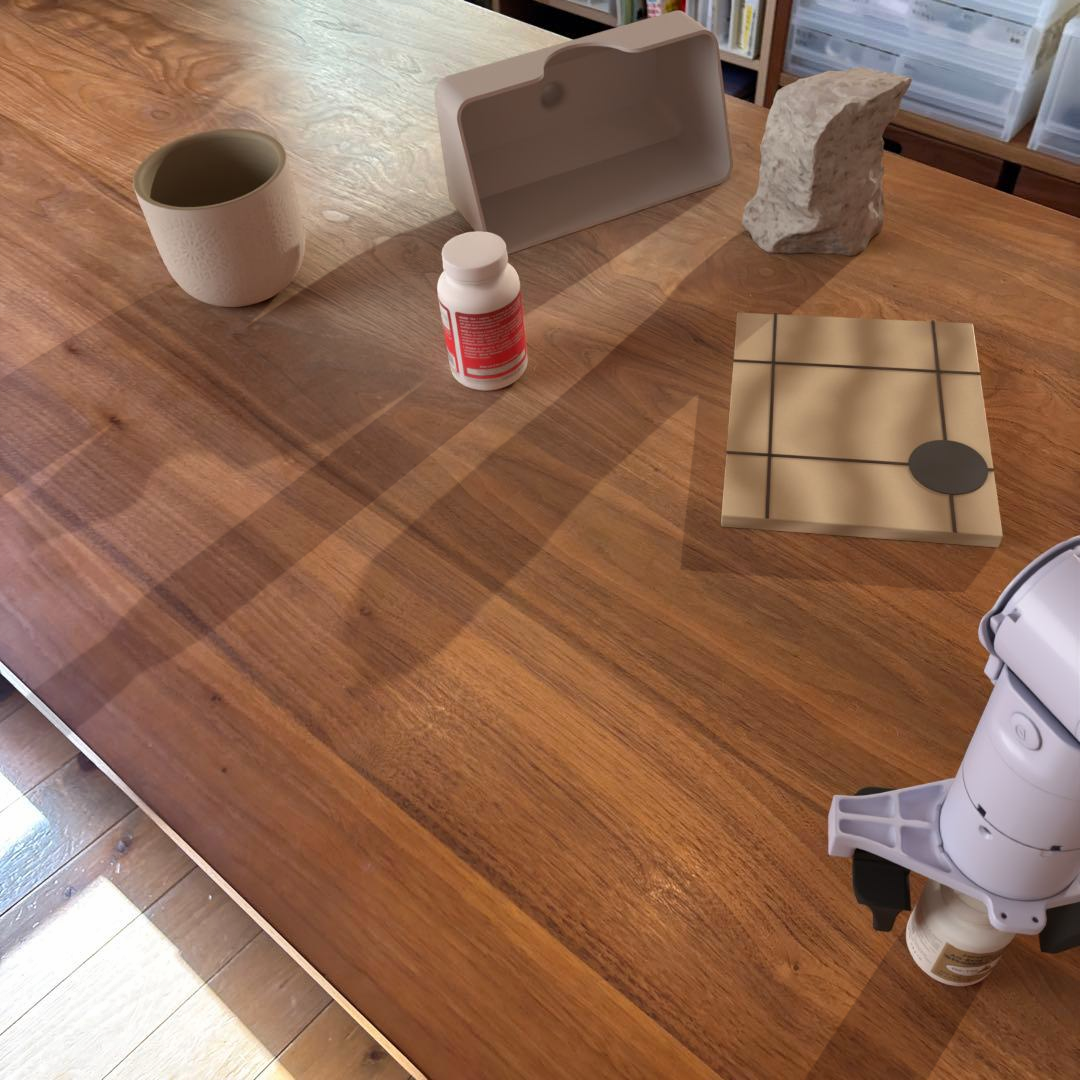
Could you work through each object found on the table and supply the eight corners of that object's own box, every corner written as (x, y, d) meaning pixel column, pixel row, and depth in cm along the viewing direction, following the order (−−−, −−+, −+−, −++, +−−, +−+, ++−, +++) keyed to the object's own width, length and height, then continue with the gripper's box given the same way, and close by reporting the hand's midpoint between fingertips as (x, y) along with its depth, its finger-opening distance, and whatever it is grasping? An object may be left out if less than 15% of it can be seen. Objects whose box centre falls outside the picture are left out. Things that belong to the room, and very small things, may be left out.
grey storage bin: (650, 106, 113) (651, -21, 104) (734, 178, 103) (744, 45, 94) (424, 176, 107) (403, 48, 98) (490, 260, 97) (474, 126, 88)
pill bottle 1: (544, 362, 88) (534, 243, 80) (491, 404, 85) (476, 285, 77) (486, 333, 91) (471, 214, 82) (434, 372, 88) (413, 254, 80)
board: (969, 335, 87) (973, 322, 86) (998, 548, 72) (1003, 535, 71) (736, 324, 89) (737, 311, 88) (720, 527, 75) (721, 514, 74)
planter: (174, 334, 93) (129, 221, 85) (175, 252, 102) (135, 141, 93) (320, 308, 94) (290, 194, 86) (310, 228, 103) (282, 117, 94)
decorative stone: (824, 191, 101) (846, 31, 90) (896, 237, 96) (928, 73, 85) (734, 230, 98) (746, 69, 87) (803, 280, 93) (824, 115, 82)
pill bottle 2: (941, 1004, 54) (977, 943, 48) (887, 924, 57) (915, 857, 51) (1014, 965, 55) (1059, 900, 49) (957, 888, 58) (993, 819, 52)
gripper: (850, 855, 42) (808, 983, 52) (1265, 906, 40) (1137, 1029, 50) (847, 699, 47) (809, 845, 57) (1220, 736, 44) (1110, 881, 55)
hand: (961, 921), depth 54 cm, fingers open, 7 cm apart
